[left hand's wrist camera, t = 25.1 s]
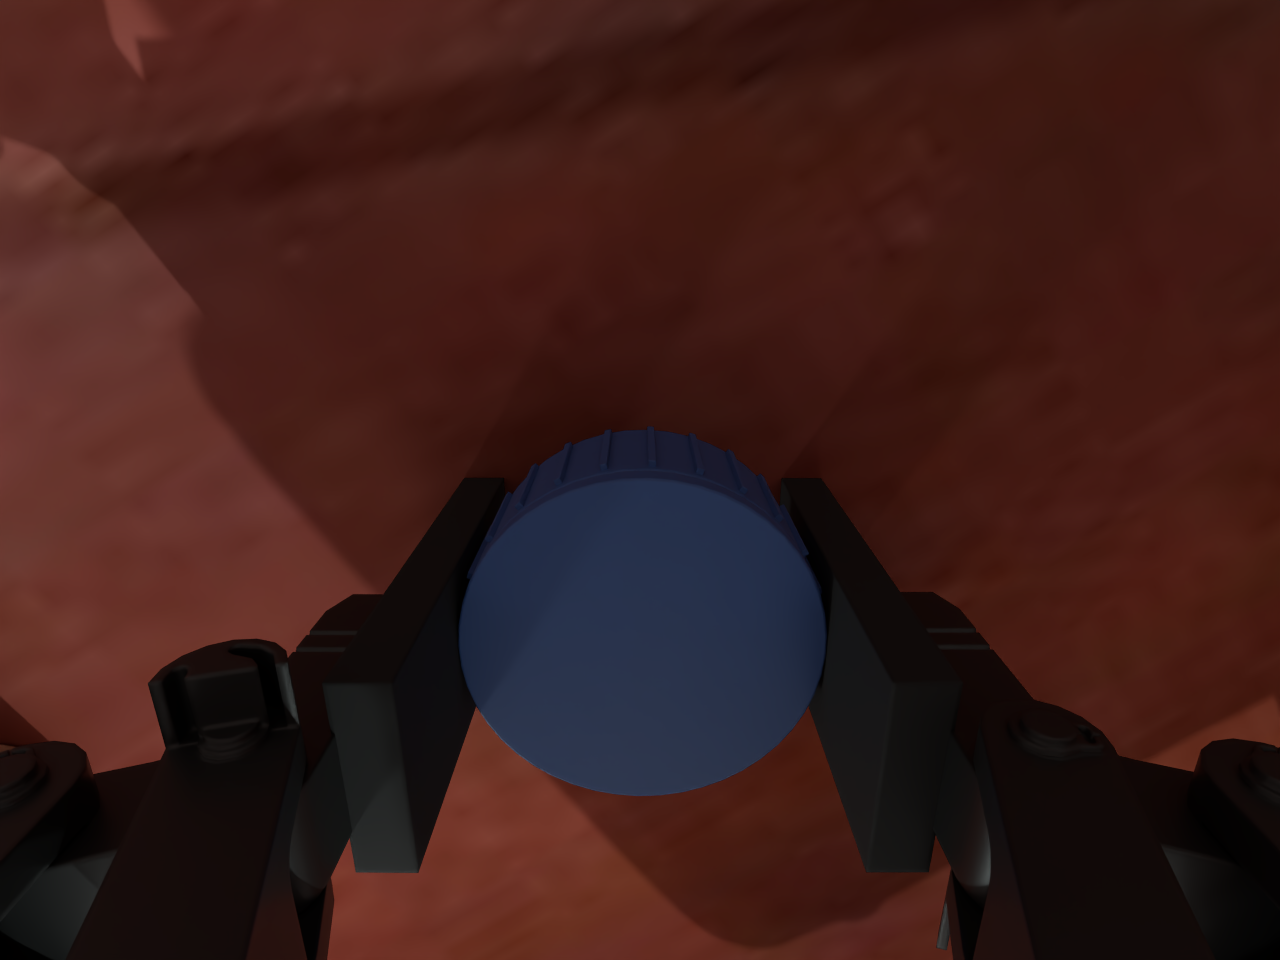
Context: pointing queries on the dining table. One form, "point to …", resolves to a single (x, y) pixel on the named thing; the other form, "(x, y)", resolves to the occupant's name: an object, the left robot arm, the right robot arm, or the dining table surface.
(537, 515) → the lid
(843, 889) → the dining table surface
